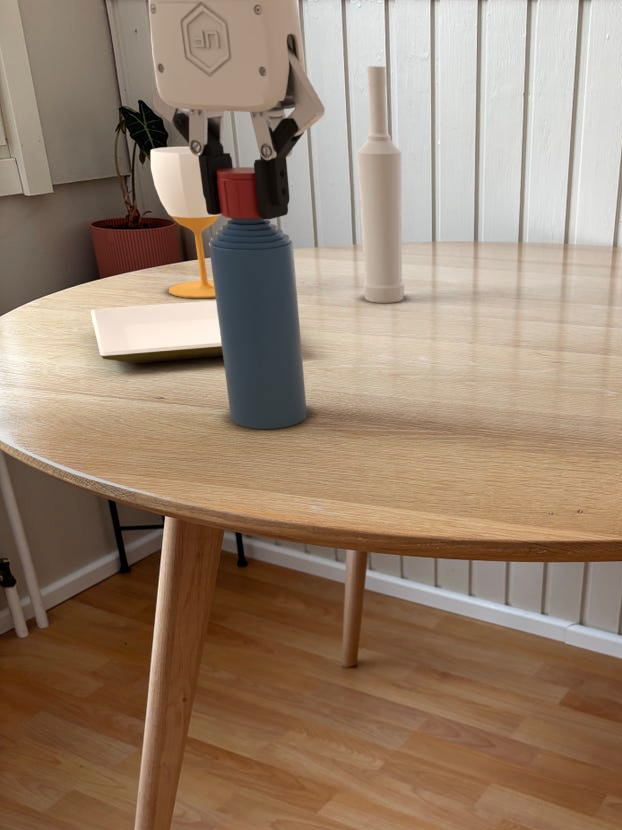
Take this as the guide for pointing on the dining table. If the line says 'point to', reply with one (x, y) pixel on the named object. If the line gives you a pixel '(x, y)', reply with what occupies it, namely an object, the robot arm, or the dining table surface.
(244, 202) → the cap
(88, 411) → the dining table surface
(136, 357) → the plate
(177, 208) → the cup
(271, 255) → the water bottle
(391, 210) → the bottle
